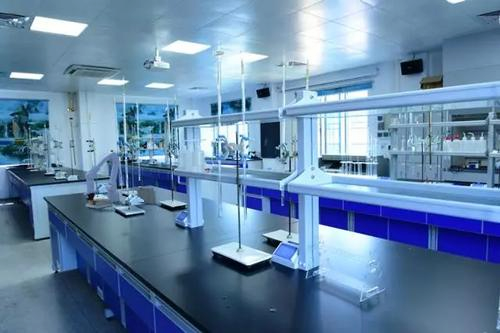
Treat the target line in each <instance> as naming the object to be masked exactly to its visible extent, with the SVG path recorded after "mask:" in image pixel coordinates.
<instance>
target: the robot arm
mask: <svg viewBox="0 0 500 333" xmlns="http://www.w3.org/2000/svg"><path fill="white" fill-rule="evenodd" d="M108 161H110V162H111V163H112V166H111V171H110V175H109V176H110V177H109V180H108V182H107V185H106V186H105V189H106V191H107V200H110V201H111V202H113V203H117V202H121V198H120V192H119V191H117V190H118V187H117V185H118V184H117V177H118V172H119V167H120V159H119V155H118V154H117V152H116V151H115V152H114V151H113V152H111V151H108V152H107V153H106V154H105V155H104V156H103V157H102V159H101V160H100V161H98V163H97V164H95V165H93V166H92V168H91V169H90V170H88V171H87V172H86V173H85V175H84V178H85V179H86V191H85V192H83V196H86V197H87V198H88V201H89V200H93V199H95V196H96V193H98V192H99V191H98V189H96V190H95V180H94V178H95V176H97V173H99V172H100V171H101V168H102V166H103V165H104V164H106V162H108Z"/></svg>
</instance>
